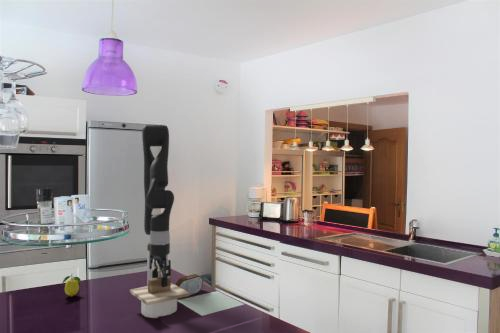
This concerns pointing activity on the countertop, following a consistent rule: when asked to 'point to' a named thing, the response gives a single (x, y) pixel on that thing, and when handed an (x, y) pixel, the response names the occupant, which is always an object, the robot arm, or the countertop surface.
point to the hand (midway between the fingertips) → (159, 283)
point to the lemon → (71, 285)
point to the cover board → (158, 292)
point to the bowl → (159, 308)
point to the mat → (210, 303)
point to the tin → (191, 283)
